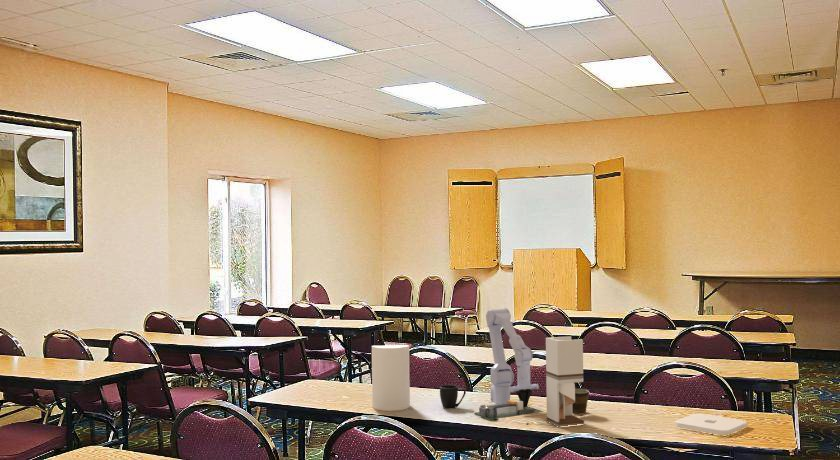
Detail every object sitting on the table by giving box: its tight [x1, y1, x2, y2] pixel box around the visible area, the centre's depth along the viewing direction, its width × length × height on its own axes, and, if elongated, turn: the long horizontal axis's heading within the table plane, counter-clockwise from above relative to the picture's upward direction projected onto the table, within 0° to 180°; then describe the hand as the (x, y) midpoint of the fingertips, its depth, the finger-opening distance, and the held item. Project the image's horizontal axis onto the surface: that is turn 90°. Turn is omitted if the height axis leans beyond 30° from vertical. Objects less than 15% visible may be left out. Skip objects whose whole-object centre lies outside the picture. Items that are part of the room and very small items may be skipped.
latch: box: [507, 399, 523, 412], centre depth 327 cm, size 5×5×5 cm
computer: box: [674, 412, 748, 435], centre depth 298 cm, size 22×22×3 cm
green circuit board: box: [473, 403, 544, 422], centre depth 325 cm, size 14×28×4 cm, turn 118°
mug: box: [439, 384, 467, 410], centre depth 339 cm, size 8×12×10 cm
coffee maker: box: [545, 336, 585, 428], centre depth 307 cm, size 11×11×35 cm
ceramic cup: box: [572, 388, 590, 415], centre depth 323 cm, size 13×10×10 cm
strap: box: [483, 404, 516, 410], centre depth 323 cm, size 4×15×1 cm, turn 118°
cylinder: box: [371, 344, 411, 412], centre depth 343 cm, size 17×17×28 cm
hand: (524, 406), depth 329 cm, fingers closed
